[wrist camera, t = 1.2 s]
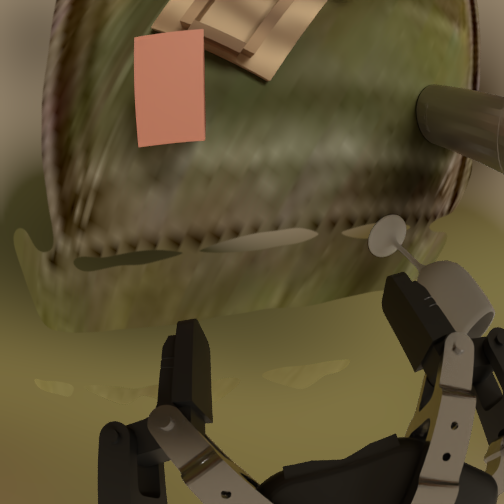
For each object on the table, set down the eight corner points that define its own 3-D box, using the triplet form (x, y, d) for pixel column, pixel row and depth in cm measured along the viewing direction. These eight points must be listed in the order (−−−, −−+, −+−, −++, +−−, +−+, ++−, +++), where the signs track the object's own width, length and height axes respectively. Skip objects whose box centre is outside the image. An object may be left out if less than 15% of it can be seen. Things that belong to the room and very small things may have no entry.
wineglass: (400, 204, 36) (504, 290, 18) (409, 241, 40) (494, 327, 22) (360, 230, 37) (454, 335, 19) (373, 265, 41) (450, 365, 23)
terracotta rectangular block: (166, 65, 23) (134, 37, 11) (204, 61, 23) (203, 29, 11) (168, 126, 26) (138, 147, 14) (205, 123, 27) (205, 140, 15)
